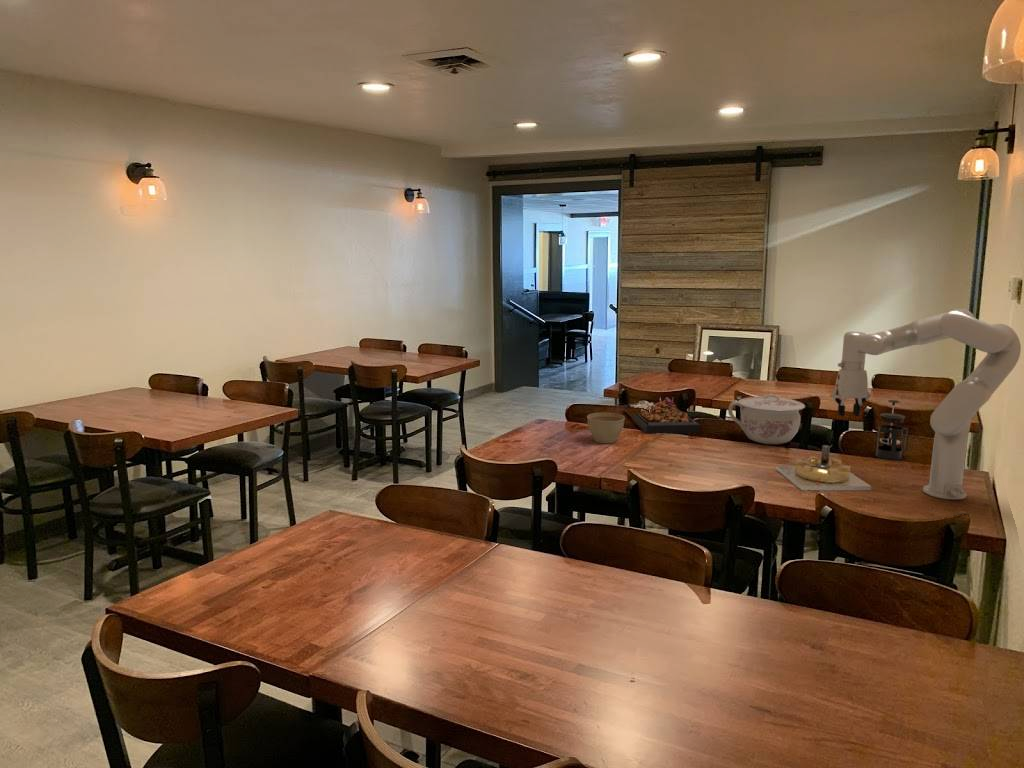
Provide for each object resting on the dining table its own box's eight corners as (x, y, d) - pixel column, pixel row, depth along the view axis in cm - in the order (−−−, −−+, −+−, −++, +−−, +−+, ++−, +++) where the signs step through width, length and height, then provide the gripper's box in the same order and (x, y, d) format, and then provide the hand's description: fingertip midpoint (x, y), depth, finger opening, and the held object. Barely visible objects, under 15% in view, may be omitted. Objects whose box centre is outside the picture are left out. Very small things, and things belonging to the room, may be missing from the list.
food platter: (623, 413, 369) (624, 393, 367) (671, 412, 370) (671, 392, 368) (646, 435, 324) (647, 413, 323) (699, 434, 326) (700, 412, 324)
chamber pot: (816, 445, 305) (820, 397, 301) (765, 452, 295) (768, 402, 291) (770, 430, 331) (773, 386, 327) (721, 436, 321) (724, 390, 317)
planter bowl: (583, 444, 307) (583, 419, 305) (590, 435, 322) (591, 411, 320) (621, 447, 303) (621, 422, 301) (626, 437, 318) (627, 413, 316)
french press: (878, 459, 285) (883, 402, 281) (870, 452, 294) (875, 397, 290) (909, 460, 283) (915, 403, 279) (900, 453, 292) (906, 398, 288)
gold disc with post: (858, 482, 251) (860, 457, 249) (807, 482, 251) (809, 457, 249) (835, 467, 268) (837, 443, 267) (787, 467, 268) (789, 444, 267)
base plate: (870, 490, 248) (871, 485, 248) (801, 490, 248) (801, 485, 248) (839, 469, 272) (839, 464, 271) (776, 469, 271) (776, 465, 271)
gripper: (834, 367, 255) (829, 418, 258) (881, 367, 255) (876, 417, 258) (824, 364, 262) (820, 413, 266) (871, 364, 262) (866, 413, 266)
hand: (848, 415), depth 262 cm, fingers open, 4 cm apart
